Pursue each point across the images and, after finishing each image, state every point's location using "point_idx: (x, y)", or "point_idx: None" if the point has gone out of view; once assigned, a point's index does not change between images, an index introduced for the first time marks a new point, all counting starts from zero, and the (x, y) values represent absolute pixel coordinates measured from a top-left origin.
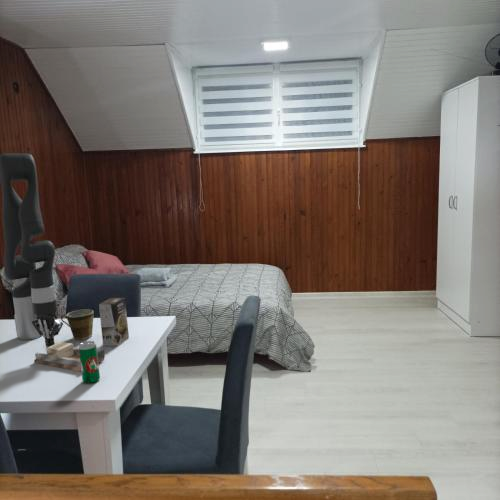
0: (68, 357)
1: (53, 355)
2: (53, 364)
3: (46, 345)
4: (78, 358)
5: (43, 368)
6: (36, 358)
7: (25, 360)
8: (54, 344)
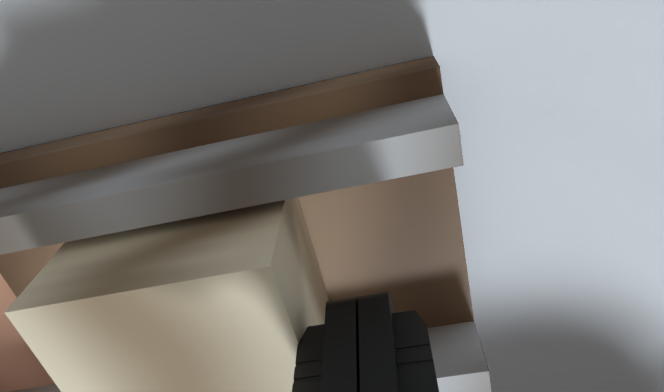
0: None
1: (138, 225)
2: (94, 138)
3: (377, 315)
4: None
5: (139, 28)
6: (427, 101)
7: (637, 27)
8: None
